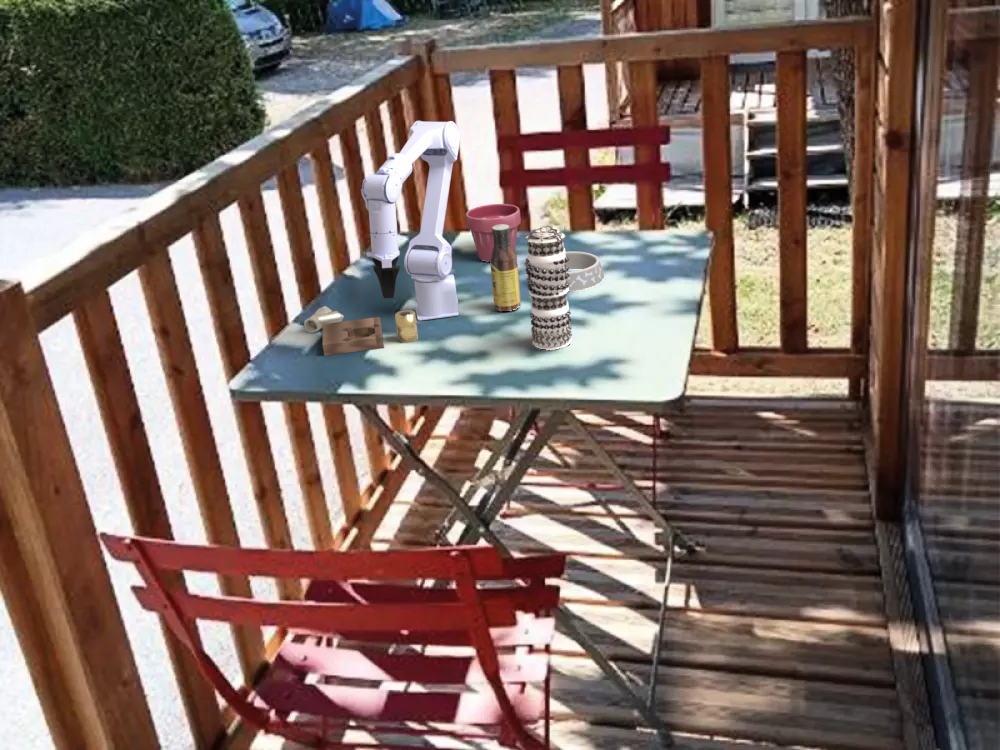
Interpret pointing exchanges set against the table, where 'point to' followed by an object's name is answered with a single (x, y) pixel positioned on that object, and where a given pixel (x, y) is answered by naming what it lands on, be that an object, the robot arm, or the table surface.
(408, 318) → the brass bushing
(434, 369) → the table surface
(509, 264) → the sauce bottle
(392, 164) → the robot arm
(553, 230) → the decorative candle
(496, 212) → the plant pot
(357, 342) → the walnut jig plate
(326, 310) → the pipe fitting
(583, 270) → the dog bowl
